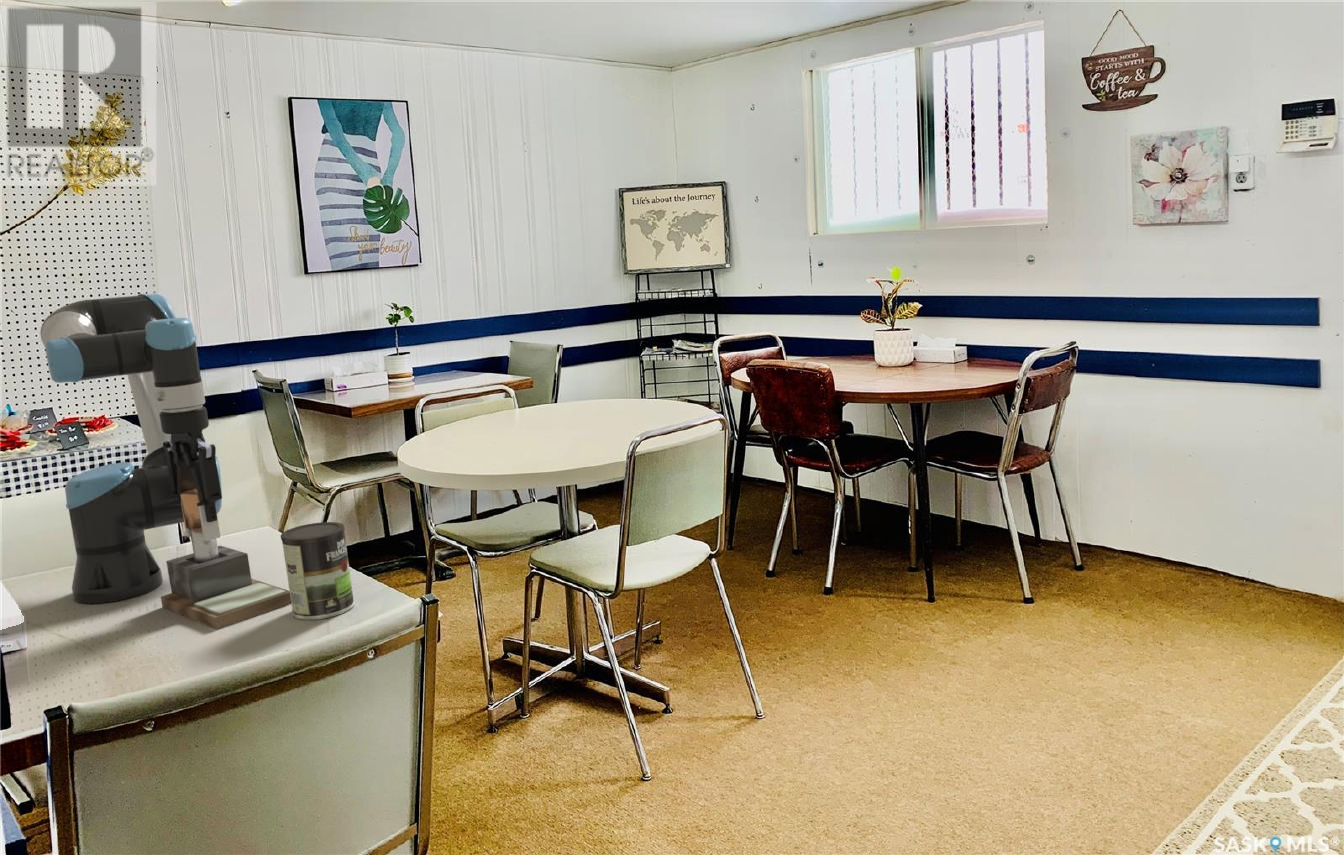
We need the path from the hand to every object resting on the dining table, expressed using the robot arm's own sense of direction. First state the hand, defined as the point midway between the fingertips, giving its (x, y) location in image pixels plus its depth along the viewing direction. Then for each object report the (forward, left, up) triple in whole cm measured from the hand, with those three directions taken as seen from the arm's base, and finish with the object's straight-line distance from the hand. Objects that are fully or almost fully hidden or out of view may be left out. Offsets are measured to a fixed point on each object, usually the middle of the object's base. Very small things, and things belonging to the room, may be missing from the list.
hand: (203, 536), depth 191 cm
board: (+5, 0, -12) cm, 13 cm away
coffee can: (+23, +8, -12) cm, 27 cm away
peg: (0, 0, -10) cm, 10 cm away
